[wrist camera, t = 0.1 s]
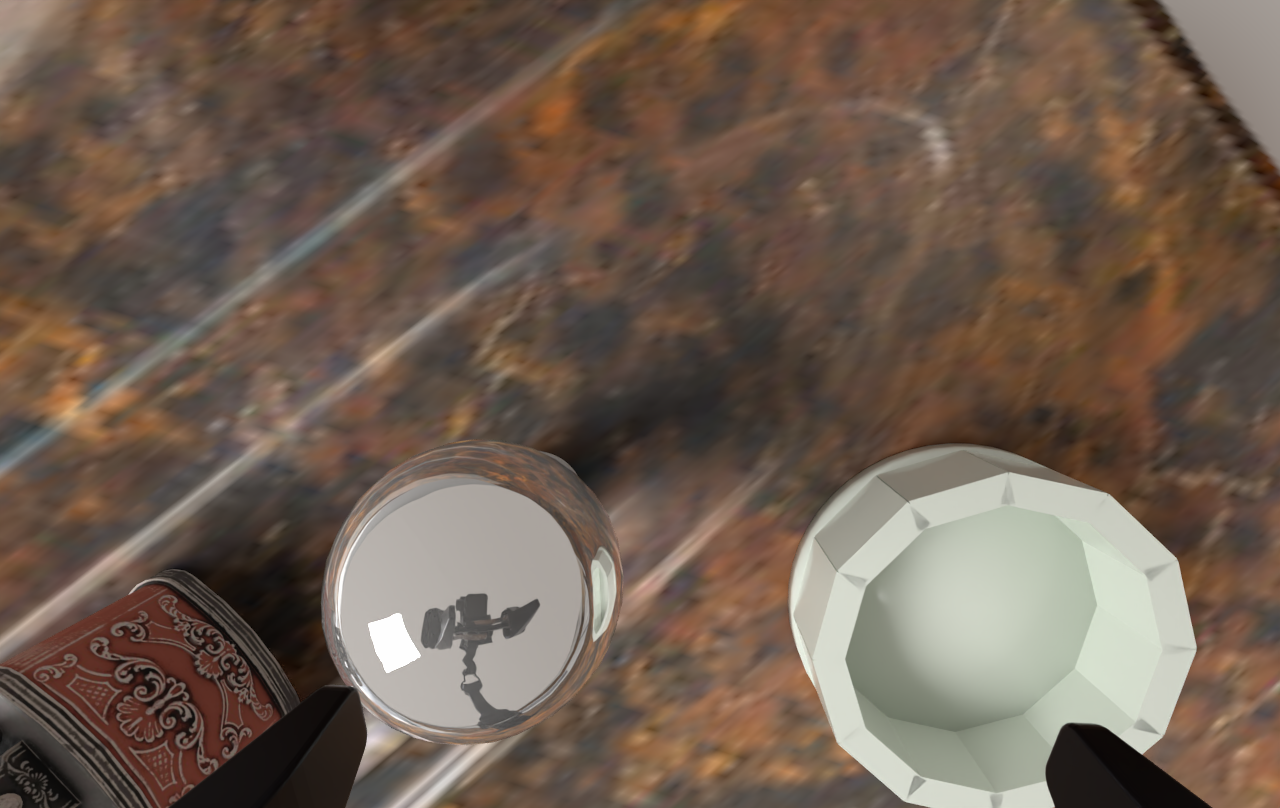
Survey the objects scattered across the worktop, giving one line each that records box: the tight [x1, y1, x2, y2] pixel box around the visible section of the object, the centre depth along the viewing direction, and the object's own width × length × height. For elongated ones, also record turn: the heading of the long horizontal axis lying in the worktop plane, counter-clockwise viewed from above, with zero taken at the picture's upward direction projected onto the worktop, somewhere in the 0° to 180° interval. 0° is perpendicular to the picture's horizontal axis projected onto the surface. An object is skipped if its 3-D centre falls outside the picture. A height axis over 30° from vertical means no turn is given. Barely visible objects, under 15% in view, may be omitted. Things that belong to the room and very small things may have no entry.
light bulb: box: [321, 439, 623, 745], centre depth 18 cm, size 7×7×12 cm
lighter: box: [0, 569, 300, 808], centre depth 20 cm, size 8×3×10 cm, turn 37°
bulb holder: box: [788, 443, 1197, 808], centre depth 22 cm, size 12×12×4 cm
